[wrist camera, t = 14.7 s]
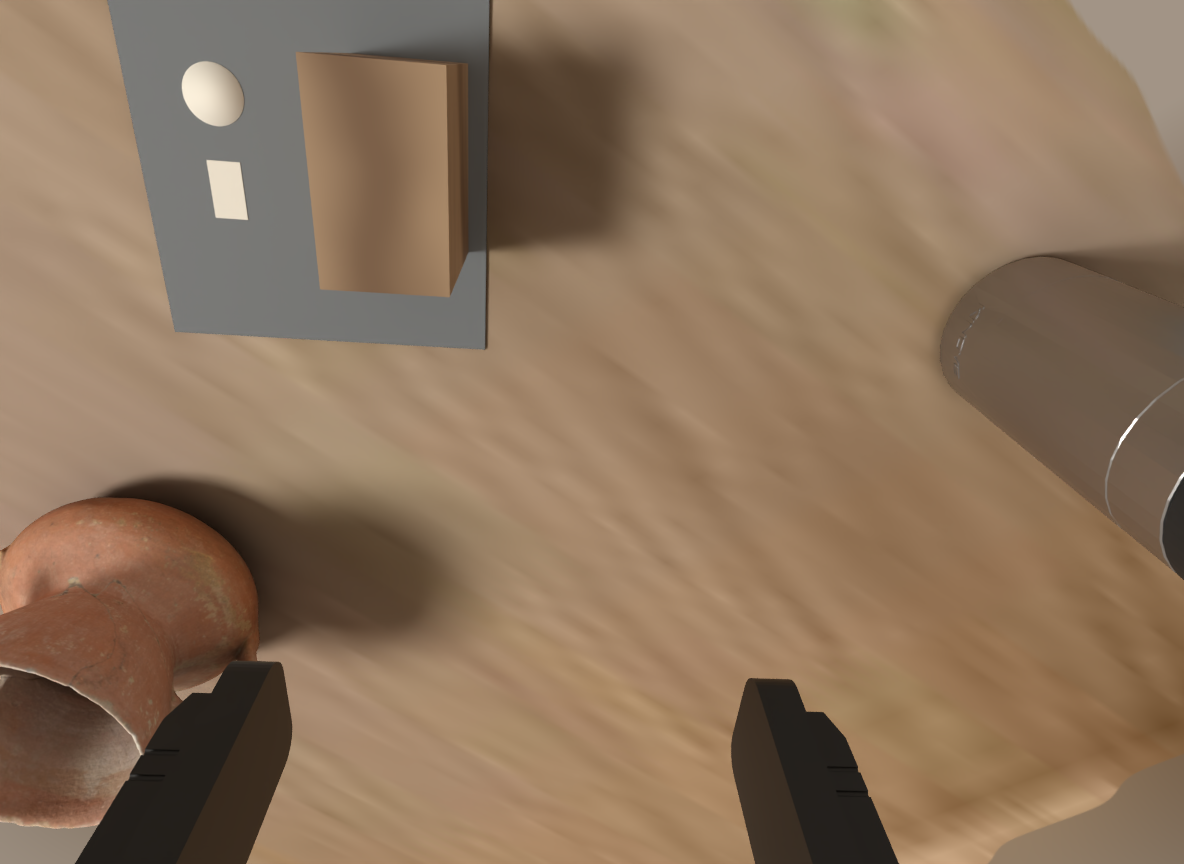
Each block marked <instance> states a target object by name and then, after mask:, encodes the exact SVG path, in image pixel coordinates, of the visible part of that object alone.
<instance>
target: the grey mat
mask: <svg viewBox="0 0 1184 864" xmlns="http://www.w3.org/2000/svg"><path fill="white" fill-rule="evenodd" d="M108 5H109V10H110V15H111V20H112V25H113V30H114V35H115V39H116V44H117V49H118V54H119V59H120V64H121V69H122V74H123V79H124V84H125V89H126V93H127V98H128V103H129V108H130V113H131V118H132V123H133V128H134V133H135V138H136V143H137V147H138V152H139V157H140V162H141V167H142V172H143V177H144V182H145V187H146V192H147V197H148V201H149V206H150V211H151V216H152V221H153V226H154V231H155V236H156V241H157V246H158V250H159V255H160V260H161V265H162V270H163V275H164V280H165V285H166V290H167V295H168V300H169V304H170V309H171V314H172V319H173V324H174V329H175V332H189V333H206V334H224V335H241V336H258V337H276V338H293V339H310V340H328V341H345V342H363V343H380V344H397V345H415V346H432V347H449V348H467V349H484V350H485V315H486V235H487V154H488V73H489V0H108ZM296 52H325V53H355V54H366V55H378V56H389V57H400V58H412V59H423V60H434V61H445V62H457V63H468V244H469V252H468V255H467V257H466V260H465V262H464V264H463V267H462V269H461V272H460V274H459V276H458V279H457V281H456V284H455V286H454V288H453V291H452V293H451V295H450V297H437V296H421V295H404V294H388V293H371V292H355V291H338V290H322V289H320V284H319V274H318V265H317V255H316V245H315V235H314V226H313V216H312V206H311V197H310V187H309V177H308V167H307V158H306V148H305V138H304V128H303V119H302V109H301V99H300V90H299V80H298V70H297V60H296Z"/></svg>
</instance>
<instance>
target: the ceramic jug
mask: <svg viewBox="0 0 1184 864" xmlns="http://www.w3.org/2000/svg"><path fill="white" fill-rule="evenodd" d="M0 603H1V607H2V609H3V612H4V614H2V615H0V676H1V679H0V822H9V823H15V824H18V825H20V826H30V827H31V826H41V827H46V828H55V829H61V828H69V829H71V828H81V827H88V826H96V825H99V823H100V822H101V820H102V819H103V817H104V815H105V814H106V812H107V810H108V809H109V807H110V805H111V804H112V802H113V800H114V799H115V797H116V796H117V794H118V792H119V791H120V789H121V787H122V786H123V784H124V782H125V781H128V780H129V777H130V773H131V771H132V769H133V768H134V766H135V764H136V763H137V761H138V759H139V758H140V756H141V755H144V753H145V748H146V746H147V745H148V743H149V741H150V740H151V738H152V737H153V735H154V733H155V732H156V730H157V728H158V727H159V725H160V723H161V722H162V720H163V719H164V718H165V717H166V716H167V715H168V714H169V713H170V712H171V711H173V710H174V709H175V708H176V707H177V706H178V705H179V704H181V703H182V702H183V701H182V700H181V699H180V698H179V697H178V696H177V695H176V693H175V692H176V691H181V690H185V689H189V688H192V687H195V686H197V685H200V684H202V683H205V682H207V681H209V680H211V679H213V678H215V677H216V676H218V675H219V674H221V673H222V672H223V671H224V670H225V668H226V667H227V665H228V664H229V663H230V662H232V661H236V660H237V661H257V657H256V651H257V649H258V646H259V640H260V637H259V629H258V610H259V607H258V595H257V590H256V586H255V583H254V580H253V577H252V575H251V573H250V571H249V569H248V567H247V565H246V563H245V562H244V560H243V559H242V557H241V556H240V555H239V553H238V552H237V551H236V550H235V548H234V547H233V546H232V545H231V544H230V543H229V542H228V541H227V540H226V539H225V538H224V537H222V536H221V535H220V534H219V533H218V532H216V531H215V530H214V529H212V528H211V527H209V526H208V525H207V524H205V523H203V522H202V521H200V520H198V519H197V518H195V517H193V516H191V515H189V514H187V513H185V512H183V511H181V510H178V509H176V508H173V507H170V506H167V505H164V504H161V503H157V502H153V501H148V500H142V499H135V498H110V497H106V498H91V499H86V500H81V501H77V502H73V503H70V504H67V505H64V506H61V507H59V508H57V509H55V510H52V511H50V512H48V513H47V514H45V515H43V516H41V517H40V518H38V519H37V520H36V521H34V522H33V523H32V524H30V525H29V526H28V527H27V528H25V529H24V530H23V531H22V532H21V533H20V534H19V535H18V537H17V538H16V539H15V540H14V541H13V542H12V544H11V545H9V546H8V547H6V548H4V549H3V550H0Z"/></svg>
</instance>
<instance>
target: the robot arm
mask: <svg viewBox="0 0 1184 864" xmlns="http://www.w3.org/2000/svg"><path fill="white" fill-rule="evenodd" d="M940 362H941V366H942V370H943V374H944V376H945V378H946V379H947V381H948V383H949V385H950V386H951V387H952V388H953V389H954V390H955V391H956V392H957V393H958V394H959V395H960V396H961V397H963V398H964V399H965V400H966V401H967V402H969V403H970V404H971V405H972V406H974V407H975V408H976V409H977V410H978V411H980V412H981V413H982V414H983V415H984V416H986V417H987V418H988V419H989V420H990V421H991V422H993V423H994V424H995V425H996V426H997V427H998V428H1000V429H1001V430H1002V431H1003V432H1005V433H1006V434H1007V435H1008V436H1009V437H1011V438H1012V439H1013V440H1014V441H1016V442H1017V443H1018V444H1019V445H1020V446H1022V447H1023V448H1024V449H1025V450H1026V451H1028V452H1029V453H1030V454H1031V455H1033V456H1034V457H1035V458H1036V459H1037V460H1039V461H1040V462H1041V463H1042V464H1043V465H1045V466H1046V467H1047V468H1048V469H1050V470H1051V471H1052V472H1053V473H1054V474H1056V475H1057V476H1058V477H1059V478H1060V479H1062V480H1063V481H1064V482H1065V483H1067V484H1068V485H1069V486H1070V487H1071V488H1073V489H1074V490H1075V491H1076V492H1077V493H1079V494H1080V495H1081V496H1082V497H1084V498H1085V499H1086V500H1087V501H1088V502H1090V503H1091V504H1092V505H1093V506H1095V507H1096V508H1097V509H1098V510H1099V511H1101V512H1102V513H1103V514H1104V515H1105V516H1107V517H1108V518H1109V519H1110V520H1112V521H1113V522H1114V523H1115V524H1116V525H1118V526H1119V527H1120V528H1121V529H1123V530H1124V531H1125V532H1127V533H1128V534H1129V535H1130V536H1131V537H1133V538H1134V539H1135V540H1136V541H1138V542H1139V543H1140V544H1141V545H1142V546H1144V547H1145V548H1146V549H1147V550H1148V551H1150V552H1151V553H1152V554H1153V555H1155V556H1156V557H1157V558H1158V559H1159V560H1161V561H1162V562H1163V563H1164V564H1165V565H1167V566H1168V567H1169V568H1170V569H1172V570H1173V571H1174V572H1175V573H1177V574H1178V575H1179V576H1180V577H1181V578H1182V579H1183V580H1184V307H1182V306H1179V305H1177V304H1174V303H1172V302H1169V301H1167V300H1164V299H1162V298H1159V297H1157V296H1154V295H1152V294H1149V293H1146V292H1144V291H1141V290H1139V289H1136V288H1134V287H1131V286H1129V285H1126V284H1124V283H1122V282H1119V281H1117V280H1115V279H1112V278H1109V277H1107V276H1104V275H1102V274H1099V273H1097V272H1094V271H1091V270H1089V269H1086V268H1084V267H1081V266H1079V265H1076V264H1073V263H1071V262H1068V261H1065V260H1062V259H1059V258H1053V257H1034V258H1026V259H1022V260H1019V261H1016V262H1012V263H1009V264H1006V265H1004V266H1003V267H1001V268H999V269H997V270H995V271H993V272H991V273H990V274H988V275H987V276H986V277H984V278H983V279H982V280H980V281H979V282H978V283H976V284H975V285H974V286H973V287H972V288H971V289H970V290H969V291H968V292H967V293H966V294H965V295H964V296H963V297H962V299H961V300H960V301H959V303H958V304H957V306H956V307H955V309H954V310H953V312H952V313H951V315H950V317H949V319H948V322H947V324H946V326H945V328H944V331H943V335H942V340H941V344H940ZM291 739H292V720H291V713H290V707H289V701H288V695H287V689H286V683H285V676H284V670H283V667H282V664H281V663H280V662H266V661H232V662H230V663H229V664H228V665H227V667H226V668H225V670H224V671H223V673H222V675H221V677H220V679H219V680H218V682H217V684H216V686H215V688H214V689H213V691H212V693H192V694H191V695H190V696H188V697H187V698H186V699H185V700H184V701H183V702H182V703H181V704H179V705H178V706H177V707H176V708H175V709H174V710H173V711H171V712H170V713H169V714H168V715H167V716H166V717H165V718H164V719H163V720H162V722H161V723H160V725H159V727H158V728H157V730H156V732H155V733H154V735H153V737H152V738H151V740H150V741H149V743H148V745H147V746H146V748H145V753H144V755H141V756H140V758H139V759H138V761H137V763H136V764H135V766H134V768H133V769H132V771H131V773H130V777H129V780H128V781H125V782H124V784H123V786H122V787H121V789H120V791H119V792H118V794H117V796H116V797H115V799H114V800H113V802H112V804H111V805H110V807H109V809H108V810H107V812H106V814H105V815H104V817H103V819H102V820H101V822H100V823H99V825H98V827H97V828H96V830H95V832H94V834H93V835H92V837H91V838H90V840H89V842H88V843H87V845H86V846H85V848H84V850H83V852H82V853H81V855H80V856H79V858H78V860H77V861H76V863H75V864H246V863H247V860H248V858H249V855H250V853H251V850H252V848H253V845H254V843H255V840H256V838H257V835H258V833H259V830H260V827H261V825H262V822H263V820H264V817H265V815H266V812H267V810H268V807H269V805H270V802H271V800H272V797H273V795H274V792H275V789H276V787H277V784H278V782H279V779H280V777H281V774H282V772H283V769H284V767H285V764H286V761H287V758H288V755H289V751H290V746H291ZM731 758H732V768H733V774H734V778H735V782H736V786H737V790H738V795H739V799H740V803H741V807H742V811H743V815H744V819H745V823H746V827H747V832H748V836H749V840H750V844H751V848H752V852H753V856H754V860H755V864H899V863H898V861H897V858H896V856H895V854H894V851H893V849H892V846H891V844H890V842H889V839H888V837H887V835H886V832H885V830H884V828H883V825H882V823H881V820H880V818H879V816H878V813H877V811H876V809H875V806H874V804H873V801H872V799H871V797H869V796H868V790H867V787H866V785H865V783H864V780H863V778H862V775H861V773H859V772H858V766H857V764H856V761H855V759H854V756H853V754H852V752H851V749H850V747H849V745H848V742H847V740H846V738H845V737H844V735H843V734H842V733H841V732H840V731H839V730H838V728H837V727H836V726H835V725H834V724H833V723H832V722H831V720H830V719H829V718H828V717H827V716H826V715H825V714H824V712H806V710H805V708H804V705H803V702H802V700H801V697H800V694H799V692H798V689H797V687H796V685H795V683H794V682H793V681H792V680H789V679H758V678H749V679H748V680H747V682H746V685H745V688H744V692H743V696H742V700H741V704H740V708H739V712H738V716H737V720H736V724H735V728H734V732H733V736H732V744H731Z"/></svg>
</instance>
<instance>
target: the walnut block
mask: <svg viewBox="0 0 1184 864" xmlns="http://www.w3.org/2000/svg"><path fill="white" fill-rule="evenodd" d="M296 60H297V70H298V80H299V90H300V99H301V109H302V119H303V128H304V138H305V148H306V158H307V167H308V177H309V187H310V197H311V206H312V216H313V226H314V235H315V245H316V255H317V265H318V274H319V284H320V289H322V290H338V291H355V292H371V293H388V294H404V295H421V296H437V297H450V295H451V293H452V291H453V288H454V286H455V284H456V281H457V279H458V276H459V274H460V272H461V269H462V267H463V264H464V262H465V260H466V257H467V255H468V252H469V244H468V63H457V62H445V61H434V60H423V59H412V58H400V57H389V56H378V55H366V54H355V53H325V52H296Z"/></svg>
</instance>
